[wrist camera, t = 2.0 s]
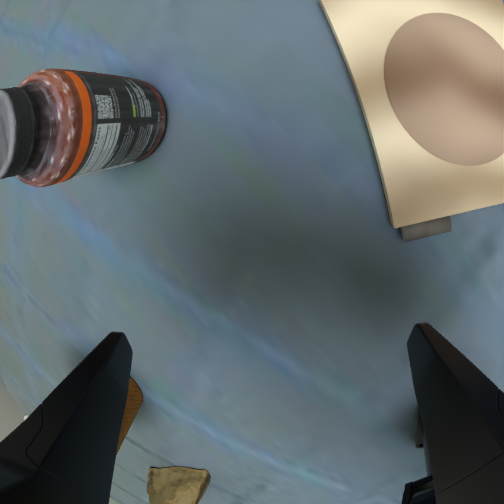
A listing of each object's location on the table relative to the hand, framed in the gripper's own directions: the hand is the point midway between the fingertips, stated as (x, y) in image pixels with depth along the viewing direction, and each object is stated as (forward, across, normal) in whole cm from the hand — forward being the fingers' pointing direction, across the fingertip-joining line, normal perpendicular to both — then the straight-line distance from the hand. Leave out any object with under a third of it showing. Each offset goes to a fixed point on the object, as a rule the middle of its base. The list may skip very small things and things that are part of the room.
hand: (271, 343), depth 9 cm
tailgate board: (+11, -11, -7) cm, 17 cm away
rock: (+5, +12, +37) cm, 39 cm away
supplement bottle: (+15, +9, -4) cm, 18 cm away
